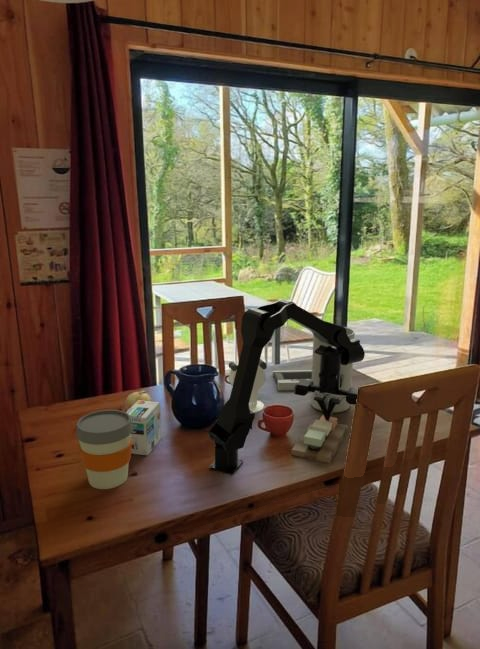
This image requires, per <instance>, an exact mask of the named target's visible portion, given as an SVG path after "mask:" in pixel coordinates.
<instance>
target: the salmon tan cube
mask: <svg viewBox="0 0 480 649" xmlns="http://www.w3.org/2000/svg"><path fill="white" fill-rule="evenodd" d="M318 420H322V421H327V422H332V428H331V431H333V430H334V429H335V427H336V425H337V424H338V418H337V417H334V416H331V417H330V419H329V421H328V420H326V419H325V417H324V414H322V415H321V417H320V418H319V419H318Z"/></svg>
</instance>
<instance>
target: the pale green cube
mask: <svg viewBox="0 0 480 649" xmlns="http://www.w3.org/2000/svg"><path fill="white" fill-rule="evenodd" d="M324 441H326V440H325V432H321V431H316V430H311V429H309V430H308V432H307V433H306V434H305V436H304V443H305V444H309V445H310V447H311V448H313V449H312V450H315V449H317V448H319V447H321V445H322V444H323V442H324Z"/></svg>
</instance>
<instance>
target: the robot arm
mask: <svg viewBox="0 0 480 649" xmlns="http://www.w3.org/2000/svg"><path fill="white" fill-rule="evenodd" d="M288 320H290V321H292V322H294V323H295V324H297V325H299V326H300V327H303V328H304V329H306V330H308V331H309V332H311V333H312V335H314V336H315V337H316V338H317V339H318V340H320V341H321V342H324V343H327V344H330V345H332V346H327V347H326V346H323V345H320V346H319V348H317V349H316V350H315V351H314V353H316V354H319V355H320V373H319V386H314V385H313V384H314V383H313V381H309V380H303V379H301V380H300V381H299V382H298V383H297V384H296V385H295V388H294V390H293V392H294V394H295V396H296V395H297V396H303V397H305V396H306V395H307V394H308V393H309V392H310V393H311V392H314V393H315V397H314V400H315V401H317V402H318V404H319V406H320V408H321V410H322V411H321V412H322V415H324V417H325V419H326V420H328V421H329V419H330V417H332V414H333V413H332V412H333V409H334V407H335V405H336V404H340V402H341V401H342V399H343V397H344V398H346V401H347V403H348V404H350V405H353V406H356V405H355V404H356V399H357V391H358V388H357V387H352V386H351V387H350V389H349V390H348V391H345V390H340V388H341V387H342V385H343V383H344V375H345V374H341V364H342V365H348V364H352V363H353V364H355V363H359V362H362V361H363V360H365V355H366V353H365V351H364V347H363V346H362V345H361V340H360V339H358V338H356V337H354V339H351V340H350V339H349V337H348V335H347V333H346V332H347V330H346V328H344V327H345V326H342V325H340V324H336V323H332V322H329V321H326V320H324V319H321V318H320V317H318V316H316V315H314V314H313V313H311V312H309V311H308V310H306V309H304V308H302V307H301V306H299V305H297V304H296V303H295V302H294V301H289V300H288V299H284V298H283V299H279V300H277V301H275V302H271V303H266V304H263V305H259V306H257V307H250V308H248V309H247V310H245V311H244V312H243V315H242V317H241V325H240V333H241V338H242V346H241V351H240V355H239V359H238V362H239V363H238V362H237V363H238V367H237V371H236V375H235V379H234V383H233V386H232V388H231V392H230V396H229V398H228V400H227V401H226V402H225V403H224V405H222V407H221V408H220V411H219V414H218V416H217V419H216V421H215V422H214V423H213V425H212V426H211V427H210V429H208V431H207V434H208V436H209V439H210V440H212V441H213V442H214V461H213V462H212V463H211V464H210V465H209V469H211V470H214V471H217V472H221V473H226V474H229V475H233V474H234V473H235V472H236V471H237V470H239V467H241V465H243V463H244V460H243V459H240V458H239V450H240V449H243V448H244V446H245V443H246V441H247V437H248V435H249V433H250V430H253V423H254V420H255V418H256V417H255V416H256V413H254V412H252V411H251V410H250V409H249V401H250V397H251V393H252V389H253V385H254V381H255V377H256V373H257V369H258V365H259V361H260V359H261V357H262V354H263V350H264V348H265V347H266V346H267V344H268V343H269V342H270V341H271V339H272V338H273V335H274V333H275V330H277V329H280V328H281V327H283V326H284V325H285V324H286V323H287V321H288ZM333 346H335V347H333ZM329 395H331V397H332V398H331V399H330V400H329V403H328V397H329Z"/></svg>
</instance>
